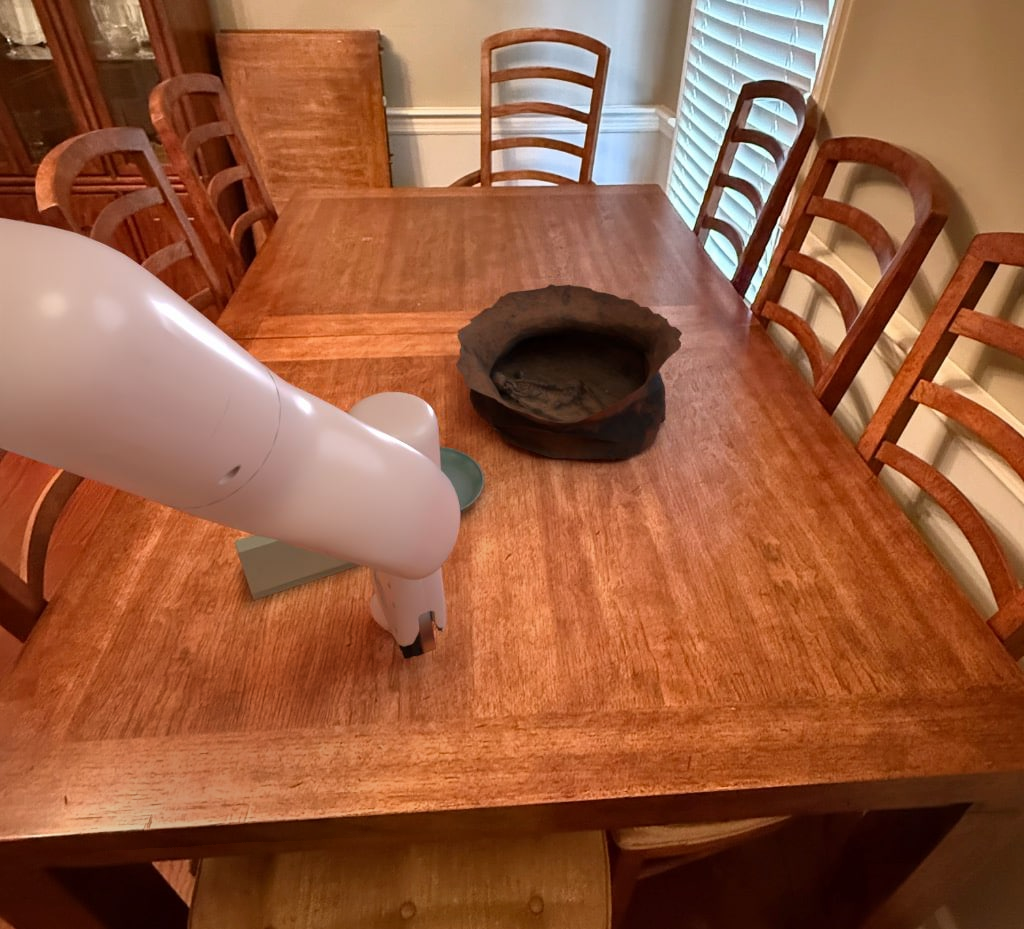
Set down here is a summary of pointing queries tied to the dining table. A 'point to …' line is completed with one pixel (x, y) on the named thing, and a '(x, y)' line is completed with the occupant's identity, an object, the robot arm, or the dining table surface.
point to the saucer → (462, 475)
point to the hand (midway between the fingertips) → (416, 648)
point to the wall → (282, 565)
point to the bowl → (569, 371)
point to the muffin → (378, 613)
